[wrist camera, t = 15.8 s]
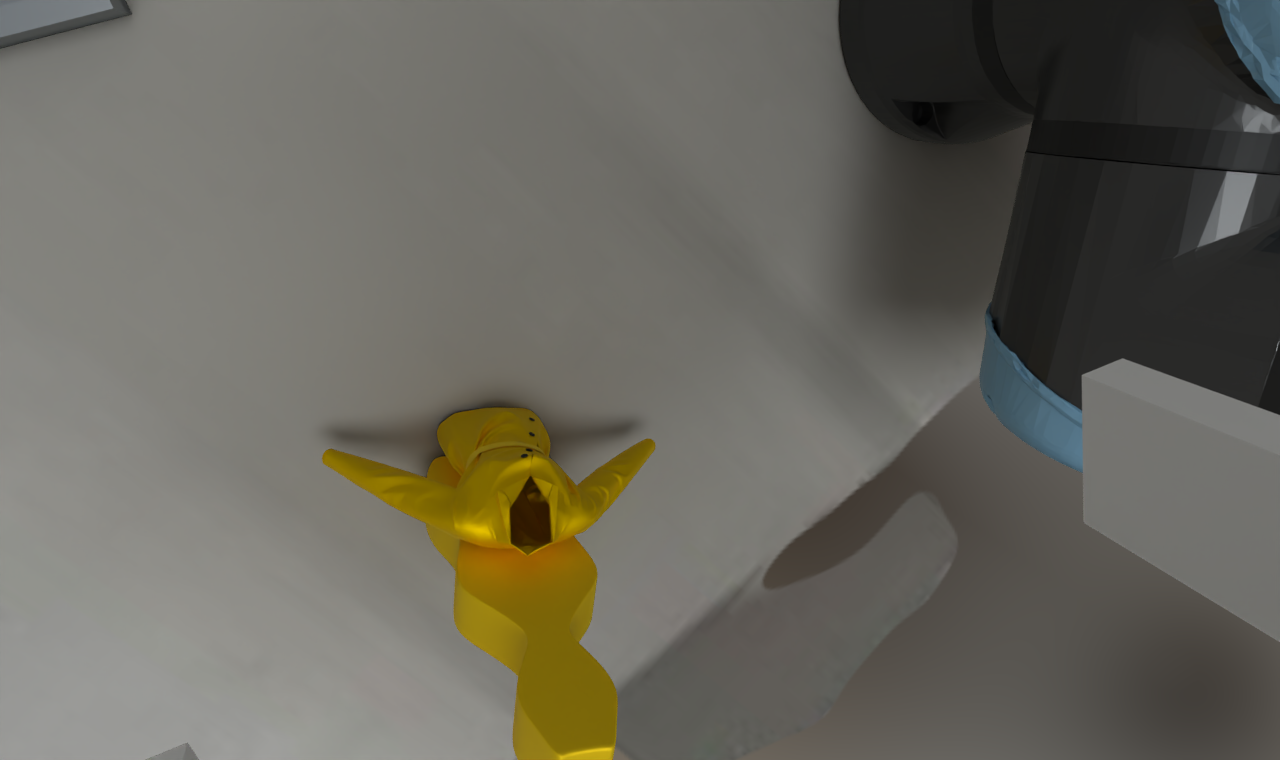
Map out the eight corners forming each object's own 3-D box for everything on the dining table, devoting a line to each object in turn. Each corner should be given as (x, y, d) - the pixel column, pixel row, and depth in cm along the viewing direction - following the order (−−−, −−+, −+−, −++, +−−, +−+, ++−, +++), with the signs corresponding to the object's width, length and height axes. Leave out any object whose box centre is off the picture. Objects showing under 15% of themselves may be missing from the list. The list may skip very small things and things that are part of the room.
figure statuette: (639, 392, 48) (836, 602, 29) (626, 508, 51) (799, 774, 31) (323, 394, 42) (301, 662, 23) (325, 526, 45) (307, 870, 25)
